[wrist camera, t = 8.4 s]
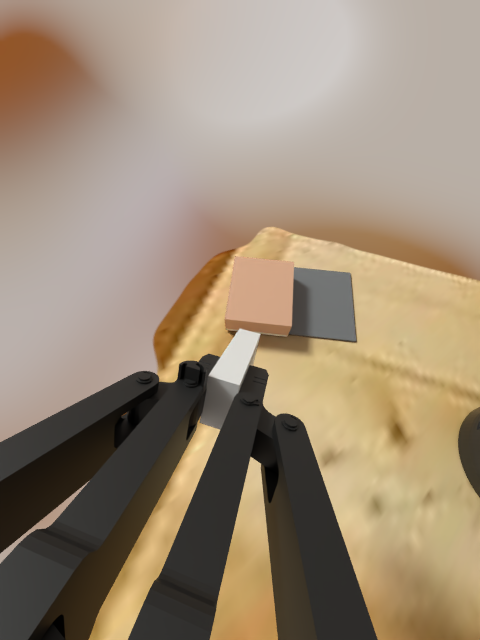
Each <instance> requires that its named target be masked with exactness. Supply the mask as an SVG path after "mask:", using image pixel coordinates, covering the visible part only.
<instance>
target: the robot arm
mask: <svg viewBox="0 0 480 640" xmlns="http://www.w3.org/2000/svg"><path fill="white" fill-rule="evenodd" d="M260 335H261V334H259V333H255V332H251V331H247V330H244V329H239V330H238V332H237V333H236V335H235V336H234V338H233V339H232V341H231V342H230V344H229V345H228V347H227V348H226V350H225V351H224V353H223V354H222V356H221V357H218V356H215V355H211V354H207V355H205V356H203V357H202V358H201V359H200V360H199V362H197V361H185V362H182V363H180V364H179V372H178V379H177V380H176V381H175V382H174V383H167V382H159V377H158V375H156V374H155V373H153V372H149V371H141V372H136V373H134V374H132V375H130V376H128V377H126V378H124V379H122V380H120V381H118V382H116V383H114V384H112V385H111V386H109V387H107V388H105V389H103V390H101V391H99V392H97V393H95V394H93V395H91V396H89V397H87V398H85V399H83V400H81V401H79V402H78V403H76V404H74V405H72V406H70V407H68V408H66V409H64V410H62V411H60V412H58V413H56V414H54V415H52V416H50V417H48V418H47V419H45V420H43V421H41V422H39V423H37V424H35V425H33V426H31V427H29V428H27V429H25V430H23V431H22V432H20V433H18V434H16V435H14V436H12V437H10V438H8V439H6V440H4V441H2V442H0V553H1V552H3V551H4V550H5V549H6V548H7V547H9V546H10V545H11V544H12V543H14V542H15V541H16V540H17V539H18V538H20V537H21V536H22V535H23V534H25V533H26V532H27V531H28V530H29V529H31V528H32V527H33V526H34V525H36V524H37V523H38V522H39V521H40V520H42V519H43V518H44V517H45V516H47V515H48V514H49V513H50V512H51V511H53V510H54V509H55V508H56V507H58V506H59V505H60V504H61V503H62V502H64V501H65V500H66V499H67V498H69V497H70V496H71V495H72V494H73V493H75V492H76V491H77V490H78V489H79V488H81V487H82V486H83V485H85V484H86V483H87V482H88V481H89V480H90V481H89V482H88V484H87V485H86V486H85V487H84V488H83V489H82V490H81V492H80V493H79V494H78V495H77V496H76V497H75V499H74V500H73V501H72V502H71V503H70V504H69V505H68V507H67V508H66V509H65V510H64V511H63V513H62V514H61V515H60V516H59V517H58V518H57V519H56V521H55V522H54V523H53V524H52V525H51V526H49V527H48V528H46V529H37V530H35V531H34V532H32V533H31V534H29V535H28V536H27V537H26V538H24V539H23V541H21V542H20V543H19V544H18V545H17V546H16V547H15V548H14V550H13V551H12V552H11V553H10V554H9V555H8V556H7V557H6V558H5V559H4V561H3V562H2V563H1V564H0V640H88V639H89V637H90V635H91V632H92V629H93V626H94V623H95V620H96V617H97V615H98V613H99V610H100V608H101V606H102V604H103V602H104V601H105V599H106V597H107V595H108V593H109V591H110V589H111V587H112V586H113V584H114V582H115V580H116V578H117V576H118V574H119V573H120V571H121V569H122V567H123V565H124V563H125V561H126V560H127V558H128V556H129V554H130V552H131V550H132V548H133V546H134V545H135V543H136V541H137V539H138V537H139V535H140V533H141V532H142V530H143V528H144V526H145V524H146V522H147V520H148V519H149V517H150V515H151V513H152V511H153V509H154V507H155V505H156V504H157V502H158V500H159V498H160V496H161V494H162V492H163V491H164V489H165V487H166V485H167V483H168V481H169V479H170V478H171V476H172V474H173V472H174V470H175V468H176V466H177V464H178V463H179V461H180V459H181V457H182V455H183V453H184V451H185V450H186V448H187V446H188V444H189V442H190V440H191V438H192V437H193V435H194V433H195V431H196V428H197V422H198V420H199V418H200V416H201V419H200V423H202V424H205V425H208V426H211V427H214V428H217V429H220V433H219V435H218V437H217V440H216V442H215V444H214V447H213V449H212V452H211V454H210V456H209V459H208V461H207V464H206V466H205V468H204V471H203V473H202V476H201V478H200V480H199V483H198V485H197V488H196V490H195V492H194V495H193V497H192V500H191V502H190V504H189V507H188V509H187V512H186V514H185V516H184V519H183V521H182V524H181V526H180V528H179V531H178V533H177V536H176V538H175V540H174V543H173V545H172V547H171V550H170V552H169V555H168V557H167V559H166V562H165V564H164V567H163V569H162V571H161V573H160V575H159V577H158V578H157V579H156V580H155V581H154V583H153V585H152V586H151V588H150V590H149V592H148V595H147V597H146V599H145V601H144V604H143V606H142V608H141V610H140V613H139V615H138V617H137V620H136V622H135V624H134V627H133V629H132V631H131V634H130V636H129V638H128V640H209V639H210V635H211V631H212V626H213V622H214V617H215V612H216V606H217V600H218V595H219V591H220V586H221V582H222V578H223V573H224V569H225V565H226V560H227V556H228V552H229V547H230V543H231V539H232V534H233V530H234V526H235V521H236V517H237V513H238V508H239V504H240V500H241V495H242V491H243V486H244V482H245V478H246V473H247V469H248V465H249V460H250V456H251V457H252V458H254V459H255V460H257V461H258V462H260V463H261V474H262V483H263V493H264V503H265V513H266V523H267V533H268V543H269V553H270V563H271V573H272V583H273V592H274V602H275V612H276V622H277V632H278V640H378V639H377V636H376V634H375V631H374V628H373V625H372V622H371V619H370V616H369V613H368V610H367V607H366V604H365V601H364V598H363V595H362V592H361V589H360V587H359V584H358V581H357V578H356V575H355V572H354V569H353V566H352V563H351V560H350V557H349V554H348V551H347V548H346V545H345V542H344V539H343V537H342V534H341V531H340V528H339V525H338V522H337V519H336V516H335V513H334V510H333V507H332V504H331V501H330V498H329V495H328V492H327V490H326V487H325V484H324V481H323V478H322V475H321V472H320V469H319V466H318V463H317V460H316V457H315V454H314V451H313V448H312V445H311V443H310V440H309V437H308V434H307V431H306V428H305V426H304V424H303V422H302V421H301V420H300V419H298V418H297V417H295V416H293V415H290V414H279V415H277V417H275V416H274V415H272V414H271V413H269V412H268V411H267V410H266V409H265V408H264V406H263V397H264V393H265V389H266V384H267V380H268V376H269V375H268V373H267V371H266V370H265V369H262V368H258V367H255V366H253V363H254V359H255V355H256V351H257V347H258V343H259V339H260ZM126 412H127V413H126ZM125 413H126V414H125ZM123 414H125V415H123ZM122 415H123V416H122ZM458 447H459V454H460V459H461V462H462V466H463V468H464V471H465V473H466V475H467V478H468V479H469V481H470V483H471V485H472V486H473V488H474V490H475V491H476V493H477V494H478V495H479V497H480V407H479V408H477V409H475V410H474V411H472V412H471V413H470V414H469V415H468V416H467V417H466V418H465V420H464V421H463V423H462V425H461V428H460V431H459V438H458Z"/></svg>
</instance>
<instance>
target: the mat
mask: <svg viewBox="0 0 480 640" xmlns="http://www.w3.org/2000/svg"><path fill="white" fill-rule="evenodd" d="M289 334H290V335H299V336H308V337H317V338H326V339H335V340H344V341H352V342H356V334H355V322H354V310H353V299H352V287H351V275H350V273H346V272H336V271H326V270H316V269H306V268H296V267H294V278H293V306H292V327H291V329H290V332H289Z"/></svg>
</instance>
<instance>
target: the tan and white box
mask: <svg viewBox="0 0 480 640" xmlns="http://www.w3.org/2000/svg"><path fill="white" fill-rule="evenodd" d="M293 278H294V262H289V261H279V260H268V259H258V258H248V257H238V256H235V259H234V265H233V271H232V278H231V284H230V290H229V296H228V302H227V308H226V314H225V327H226V330H231V331H238V330H239V329H244V330H247V331H251V332H255V333H259V334H267V335H275V336H284V337H287V336H288V334H289V332H290V329H291V327H292V306H293Z"/></svg>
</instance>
